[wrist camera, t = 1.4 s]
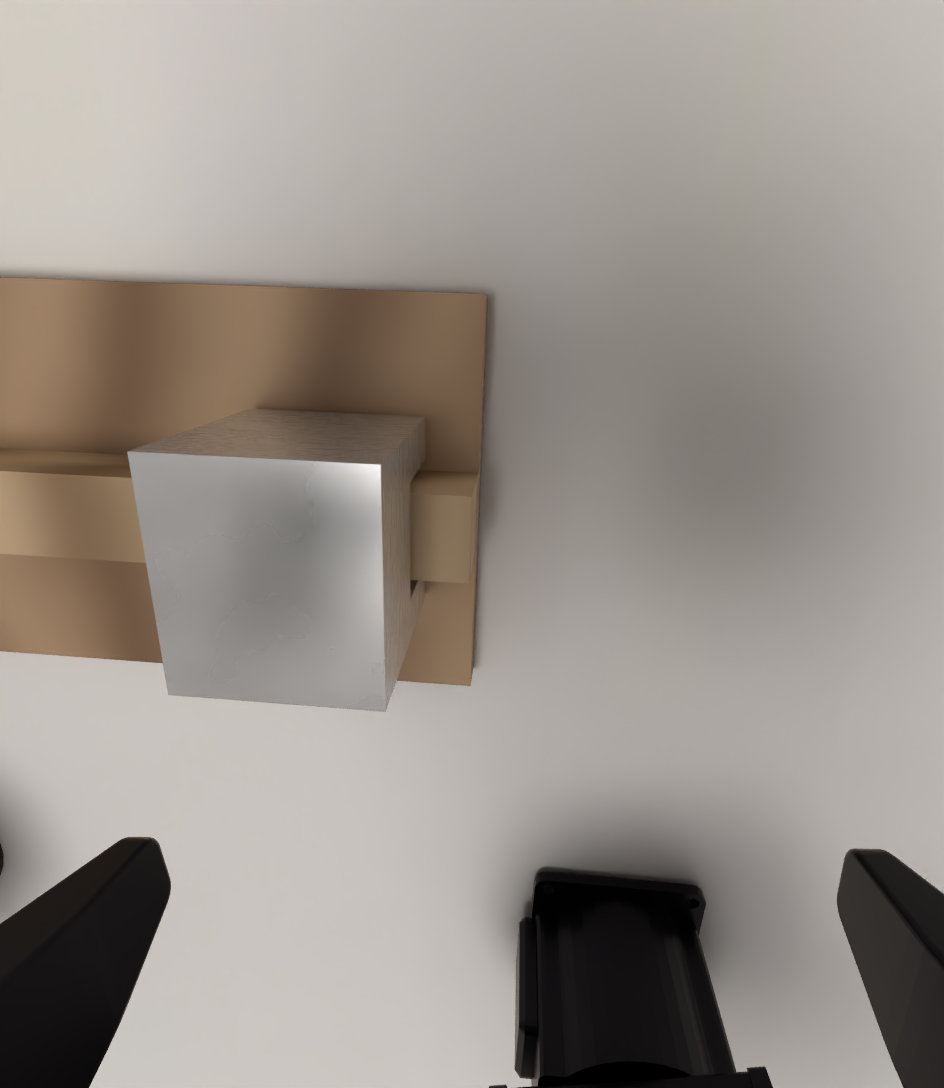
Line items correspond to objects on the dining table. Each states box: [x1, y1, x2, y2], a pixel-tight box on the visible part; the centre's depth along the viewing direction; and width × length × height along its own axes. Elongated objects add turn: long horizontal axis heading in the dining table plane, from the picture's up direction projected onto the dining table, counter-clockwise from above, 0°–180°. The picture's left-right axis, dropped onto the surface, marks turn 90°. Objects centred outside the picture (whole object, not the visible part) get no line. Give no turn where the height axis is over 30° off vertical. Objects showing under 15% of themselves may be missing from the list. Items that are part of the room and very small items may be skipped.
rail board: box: [0, 277, 487, 686], centre depth 16 cm, size 21×12×8 cm, turn 88°
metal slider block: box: [127, 409, 426, 712], centre depth 15 cm, size 5×6×6 cm
